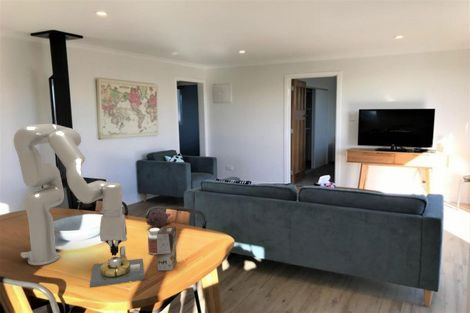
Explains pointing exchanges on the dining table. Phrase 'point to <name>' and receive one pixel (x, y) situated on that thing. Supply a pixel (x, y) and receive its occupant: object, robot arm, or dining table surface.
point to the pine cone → (157, 218)
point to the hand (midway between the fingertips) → (114, 254)
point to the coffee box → (166, 248)
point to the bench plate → (132, 275)
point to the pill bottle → (152, 241)
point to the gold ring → (120, 269)
